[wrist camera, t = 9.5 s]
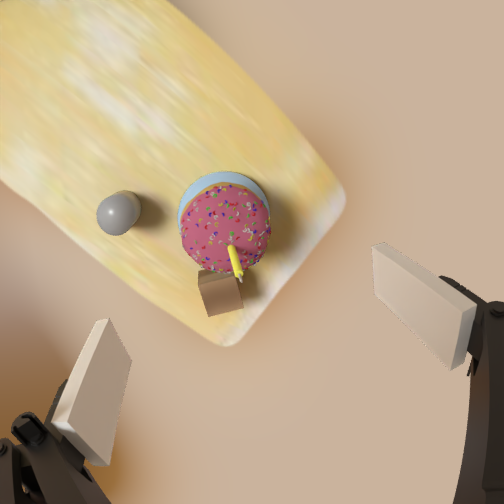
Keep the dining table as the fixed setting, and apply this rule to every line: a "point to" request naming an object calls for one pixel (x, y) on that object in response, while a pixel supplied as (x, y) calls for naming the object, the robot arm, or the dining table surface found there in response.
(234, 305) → the walnut block
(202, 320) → the dining table surface
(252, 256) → the cupcake
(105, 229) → the grey cylinder
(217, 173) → the saucer
